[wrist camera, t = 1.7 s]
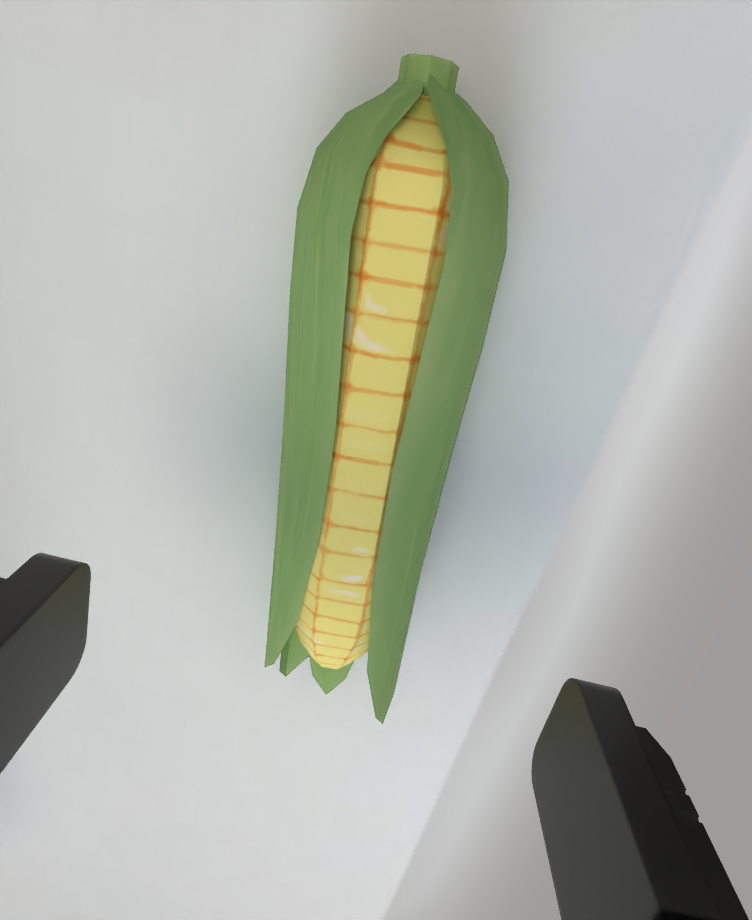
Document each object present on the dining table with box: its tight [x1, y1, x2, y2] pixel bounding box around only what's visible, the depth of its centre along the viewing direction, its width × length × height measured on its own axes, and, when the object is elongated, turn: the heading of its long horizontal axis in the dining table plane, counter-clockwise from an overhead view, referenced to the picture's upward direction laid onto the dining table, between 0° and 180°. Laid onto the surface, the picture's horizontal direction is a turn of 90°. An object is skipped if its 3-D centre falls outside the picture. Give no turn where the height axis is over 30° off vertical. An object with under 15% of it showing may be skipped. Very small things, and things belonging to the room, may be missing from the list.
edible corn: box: [265, 54, 509, 724], centre depth 17 cm, size 5×20×5 cm, turn 171°
